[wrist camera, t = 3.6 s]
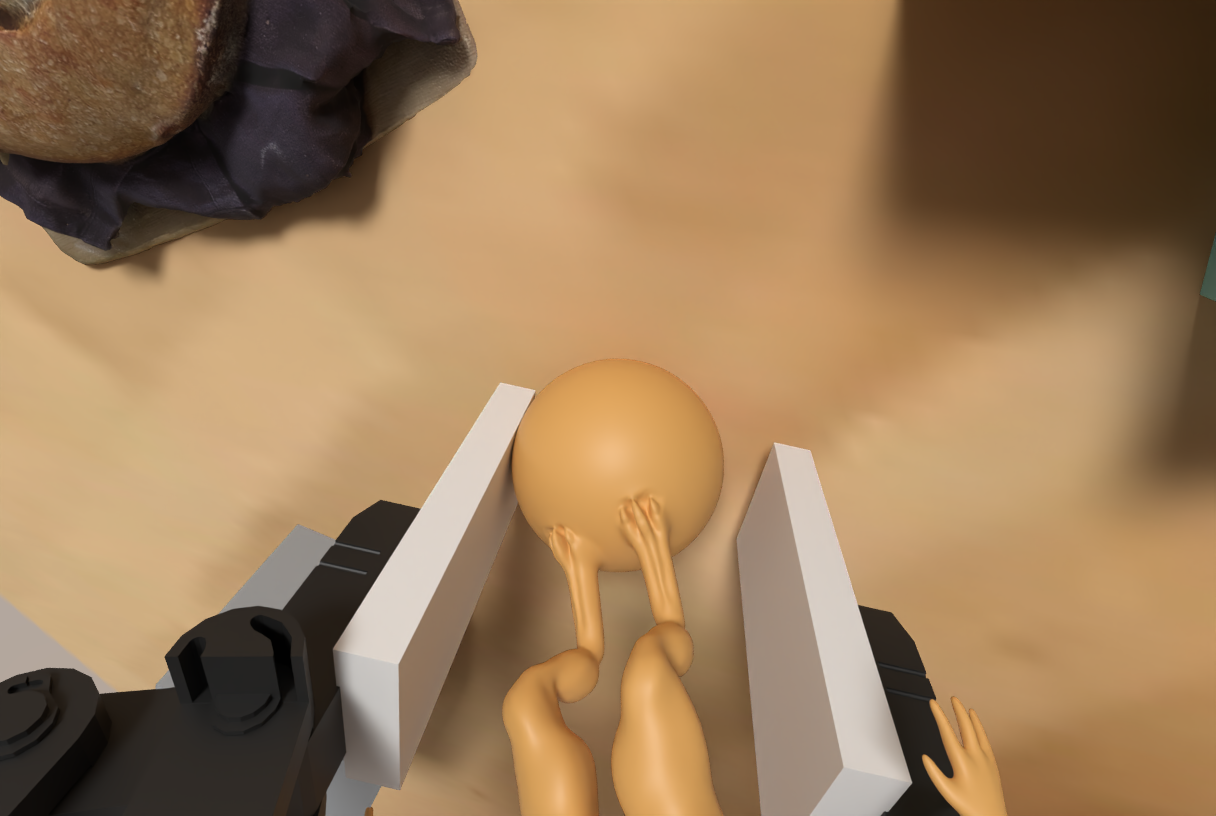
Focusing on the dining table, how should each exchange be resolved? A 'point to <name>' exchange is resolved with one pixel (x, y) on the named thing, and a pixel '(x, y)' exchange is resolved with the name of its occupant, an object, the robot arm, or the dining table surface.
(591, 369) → the figurine
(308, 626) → the robot arm
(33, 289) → the dining table surface
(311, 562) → the slate grey cube
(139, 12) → the bread roll
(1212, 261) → the teal painted cube
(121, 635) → the dining table surface
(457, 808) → the dining table surface
